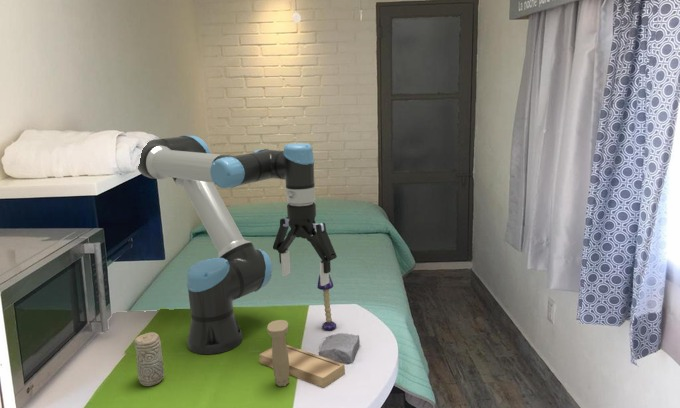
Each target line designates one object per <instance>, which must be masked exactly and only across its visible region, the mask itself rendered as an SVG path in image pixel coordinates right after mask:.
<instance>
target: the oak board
mask: <svg viewBox="0 0 680 408" xmlns="http://www.w3.org/2000/svg"><path fill="white" fill-rule="evenodd" d="M287 351H288V358H289V376H293V377H295V378H298V379H300V380H303V381H306V382H308V383H311V384H313V385H316V386H318V387H320V388H326V387H327V386H329V385H330V384H332V383H333V382H335V381H336V380H337V379H339V378H341V377H342V376H344V375H345V374H346V373H345V372H346V371H345V370H346V369H345V363H339V362H336V361H333V360H331V359H328V358H325V357H322V356H319V354H315V353H313V352H310V351H307V350H303V349H301V348H297V347H295V346H291V345H289V344H287ZM258 357H259V358H258V359H259V364H261V365H264V366H265V367H269V368H272V369H273V361H272V347H270V348H268V349H266V350H265V351H262V352H261V353H259V354H258Z"/></svg>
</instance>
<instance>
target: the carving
mask: <svg viewBox="0 0 680 408" xmlns="http://www.w3.org/2000/svg"><path fill="white" fill-rule="evenodd" d="M134 348H135V353H136V354H135V356H136V369H137V370H136V371H137V372H136V373H137V379H138V382H139V384H141V385H142V386H144V387H152V386H154V385H157V384H159V383H161V381H162V380H163V378H164V375H165V371H164V370H165V368H164V360H163V359H164V358H163V351H162V342H161V338H160V336H159V334H158V333H156V332H153V331H151V332H150V331H149V332H146V333H143V334H141V335H139V336H137V337H135V339H134Z"/></svg>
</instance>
